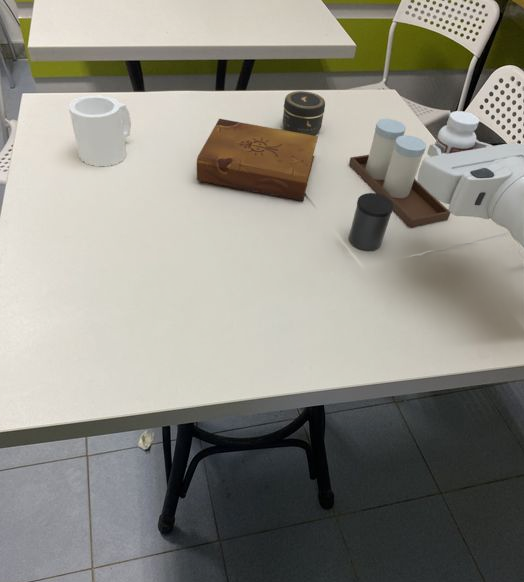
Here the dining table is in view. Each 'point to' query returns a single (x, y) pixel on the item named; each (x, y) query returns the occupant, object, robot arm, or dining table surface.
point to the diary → (257, 159)
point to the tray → (411, 208)
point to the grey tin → (370, 221)
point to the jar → (303, 112)
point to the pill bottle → (458, 132)
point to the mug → (100, 129)
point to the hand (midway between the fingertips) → (449, 145)
